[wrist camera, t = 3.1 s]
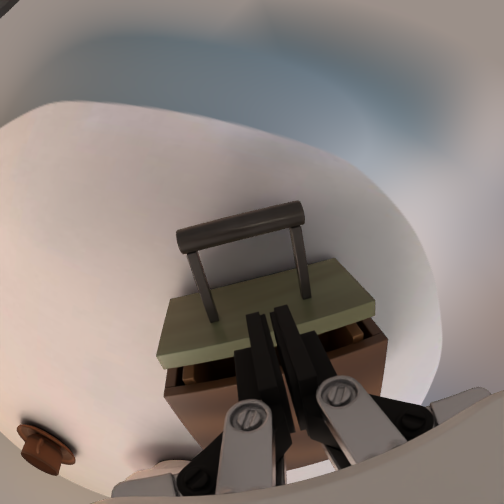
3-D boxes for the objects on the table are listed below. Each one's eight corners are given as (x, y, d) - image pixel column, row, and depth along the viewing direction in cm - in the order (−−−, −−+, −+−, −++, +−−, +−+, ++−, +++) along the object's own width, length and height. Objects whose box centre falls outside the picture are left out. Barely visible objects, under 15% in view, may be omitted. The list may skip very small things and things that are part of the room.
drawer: (142, 225, 19) (111, 262, 13) (324, 180, 19) (371, 197, 13) (221, 408, 27) (224, 460, 20) (341, 377, 27) (364, 423, 21)
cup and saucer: (10, 410, 27) (-2, 434, 21) (65, 432, 29) (55, 461, 23) (34, 444, 31) (27, 467, 25) (85, 463, 33) (79, 488, 27)
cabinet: (175, 321, 23) (162, 396, 15) (339, 279, 24) (388, 338, 16) (225, 420, 29) (230, 480, 21) (343, 389, 29) (369, 444, 21)
